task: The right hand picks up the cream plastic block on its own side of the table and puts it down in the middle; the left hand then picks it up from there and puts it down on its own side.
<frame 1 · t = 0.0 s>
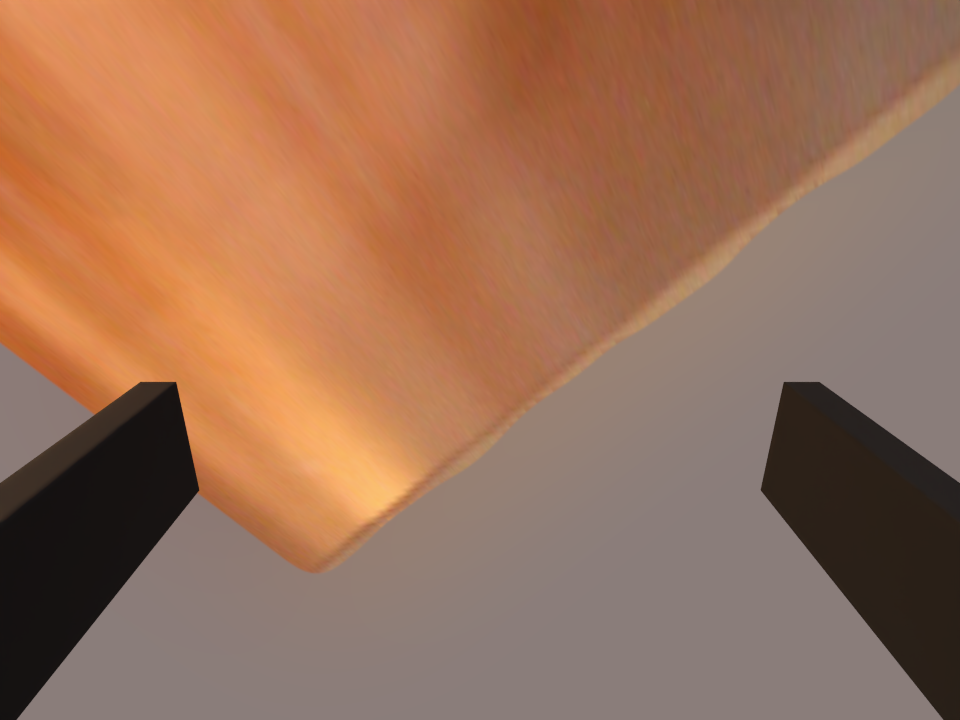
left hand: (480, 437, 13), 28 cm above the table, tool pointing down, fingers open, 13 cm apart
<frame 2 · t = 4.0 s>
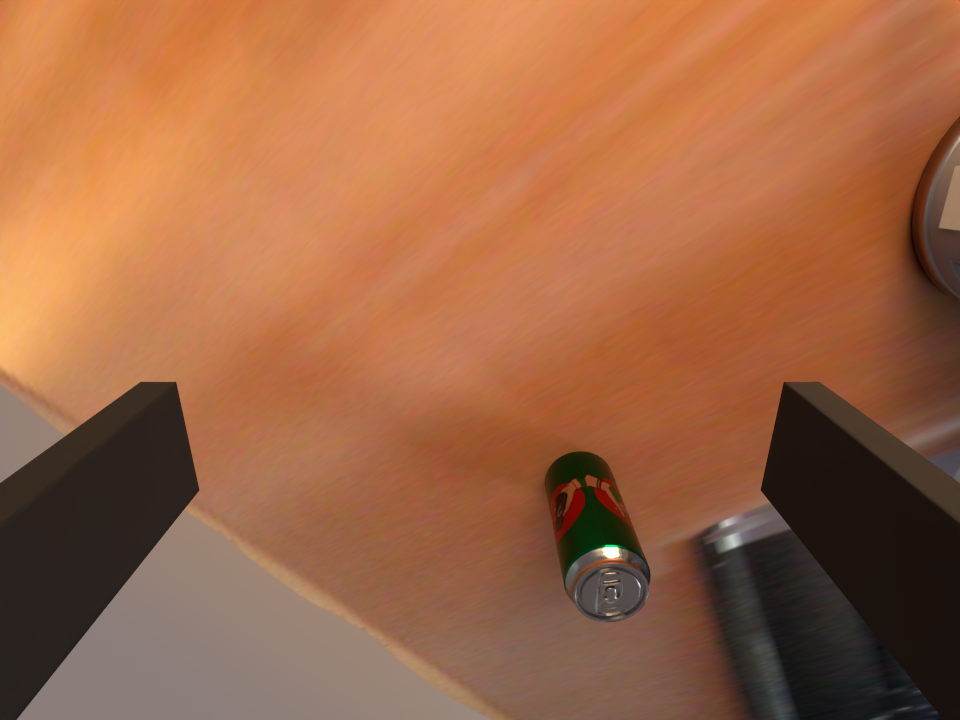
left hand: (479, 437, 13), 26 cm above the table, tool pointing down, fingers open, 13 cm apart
soda can: (576, 474, 43), on the table
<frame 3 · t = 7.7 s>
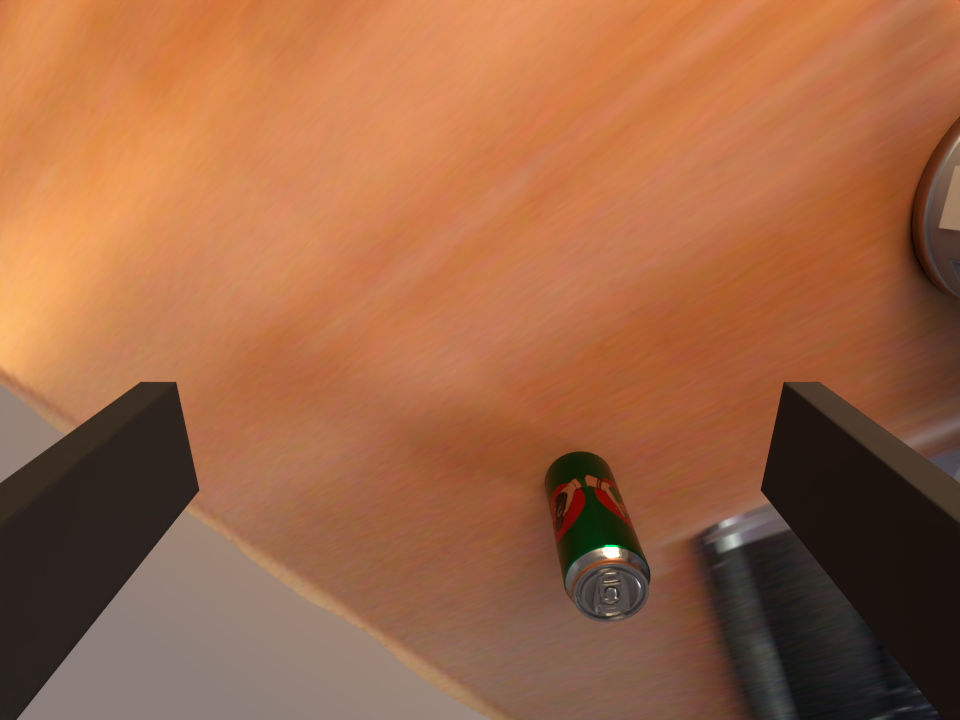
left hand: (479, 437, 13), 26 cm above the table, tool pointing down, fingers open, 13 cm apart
soda can: (576, 474, 43), on the table
when the right hand's fingers open (3 cm above the table, at t = 11.8 s): block drops 2 cm, on the table.
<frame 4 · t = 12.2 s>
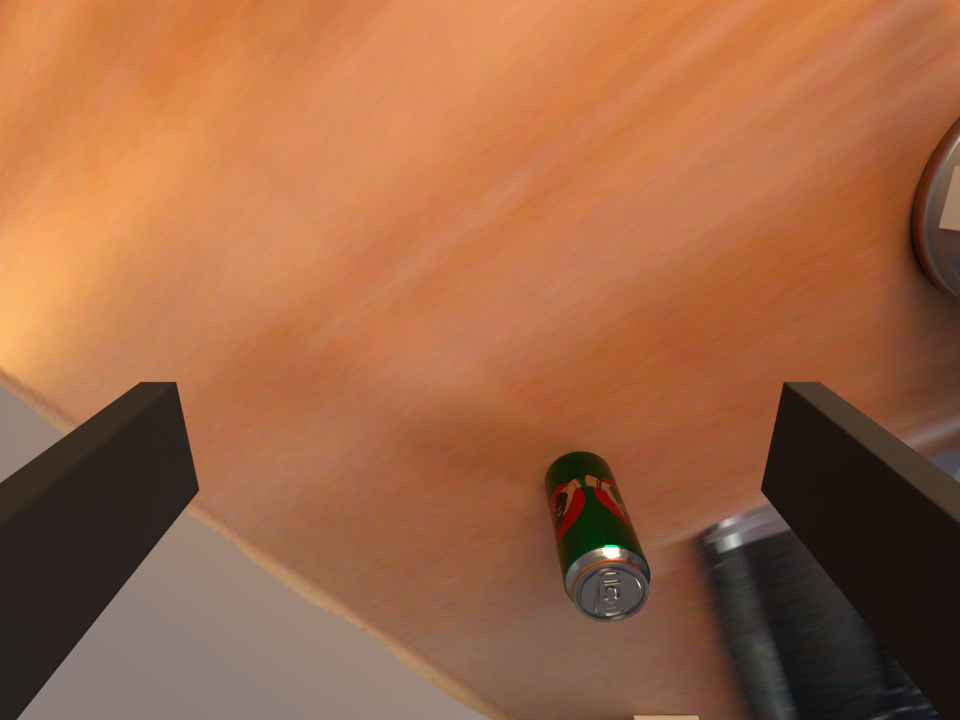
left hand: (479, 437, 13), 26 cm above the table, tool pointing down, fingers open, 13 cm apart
soda can: (576, 474, 43), on the table
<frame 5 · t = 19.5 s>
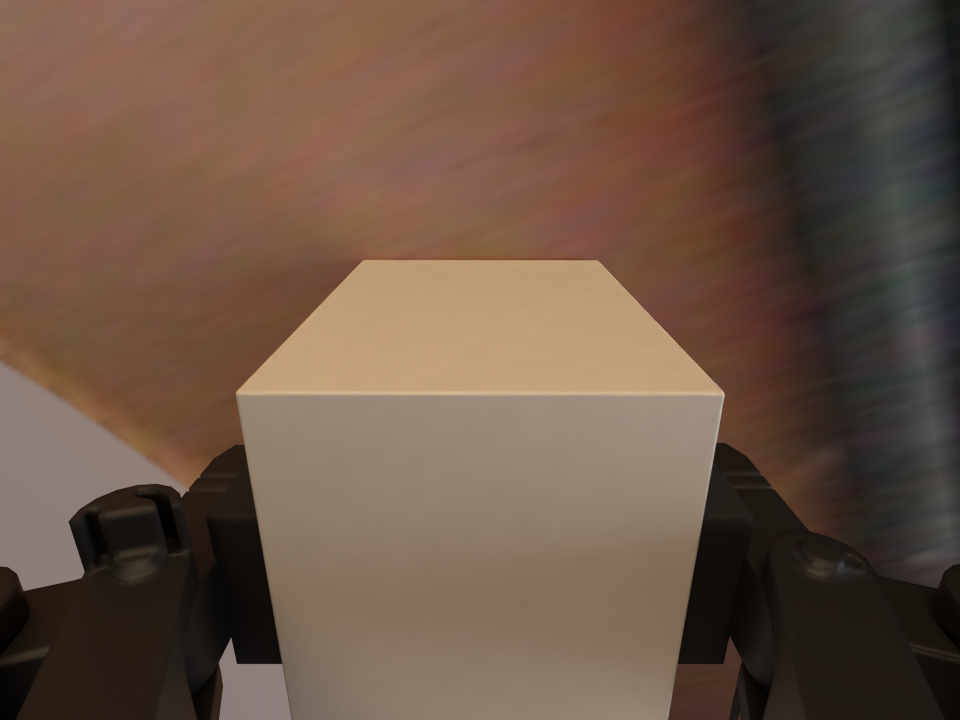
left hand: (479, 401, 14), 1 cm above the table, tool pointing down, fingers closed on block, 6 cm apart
block: (480, 378, 16), on the table, touching left hand
when the left hand's fingers open (3 cm above the table, at t = 28.3 s): block drops 2 cm, on the table.
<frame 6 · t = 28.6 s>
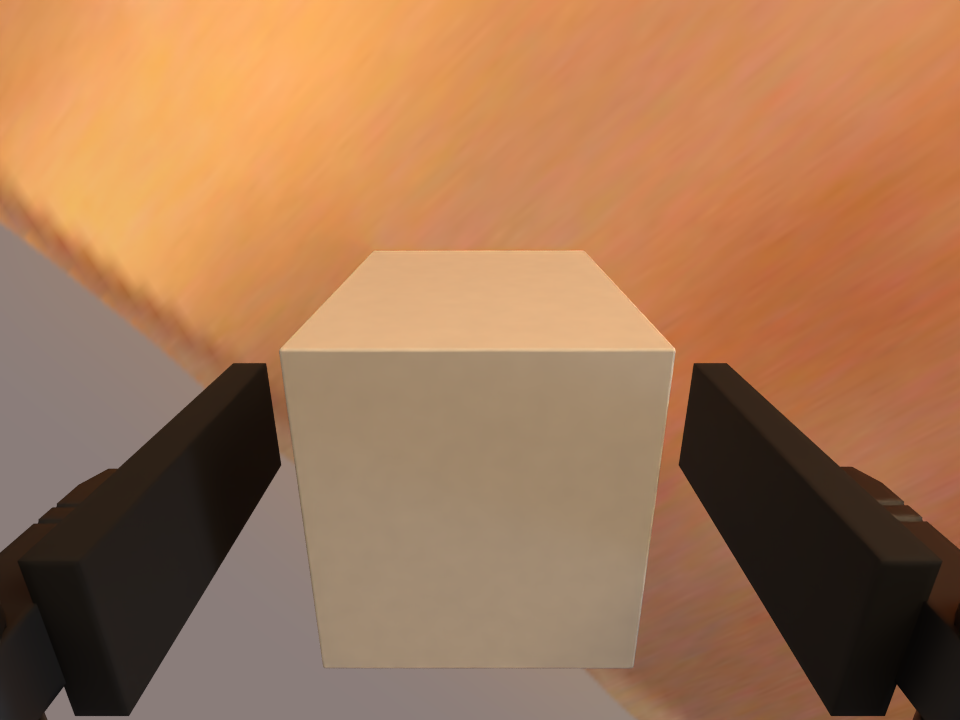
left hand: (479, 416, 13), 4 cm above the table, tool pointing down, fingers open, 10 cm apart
block: (479, 358, 17), on the table
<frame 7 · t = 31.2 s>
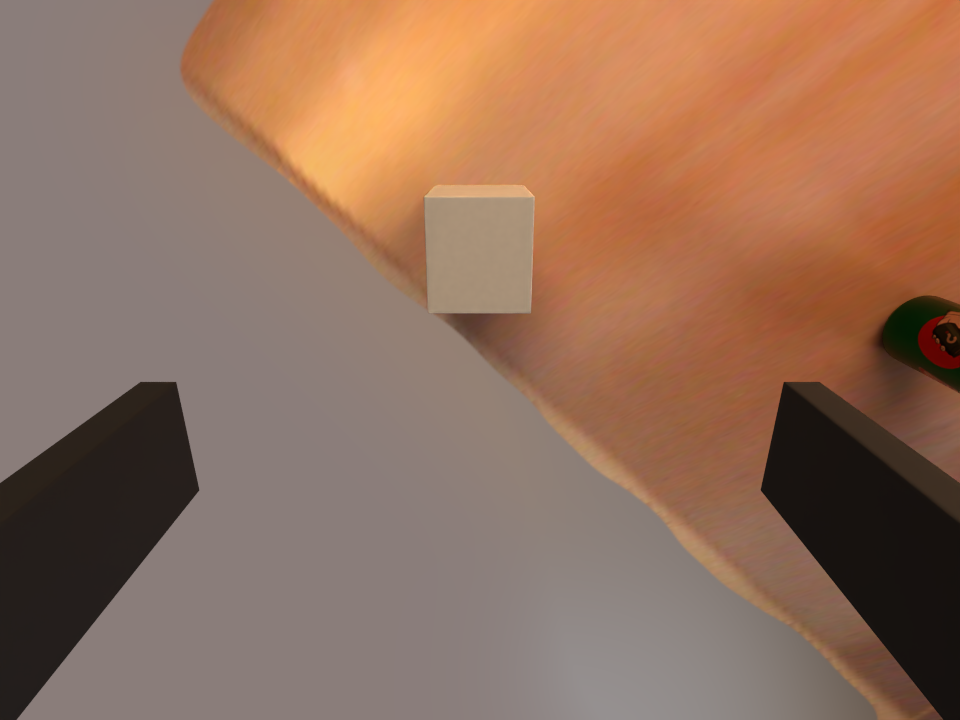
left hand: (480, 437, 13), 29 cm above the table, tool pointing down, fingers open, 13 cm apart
soda can: (910, 326, 42), on the table
block: (479, 234, 39), on the table
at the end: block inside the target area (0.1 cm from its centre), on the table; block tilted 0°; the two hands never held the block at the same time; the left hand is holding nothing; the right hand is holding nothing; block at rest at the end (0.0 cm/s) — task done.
